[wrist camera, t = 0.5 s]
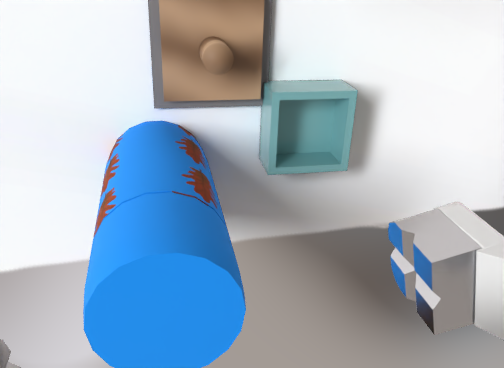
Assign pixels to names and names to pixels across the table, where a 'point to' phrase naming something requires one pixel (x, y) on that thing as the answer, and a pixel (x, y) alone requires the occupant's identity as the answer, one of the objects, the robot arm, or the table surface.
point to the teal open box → (306, 126)
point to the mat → (159, 100)
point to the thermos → (161, 257)
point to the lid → (211, 49)
